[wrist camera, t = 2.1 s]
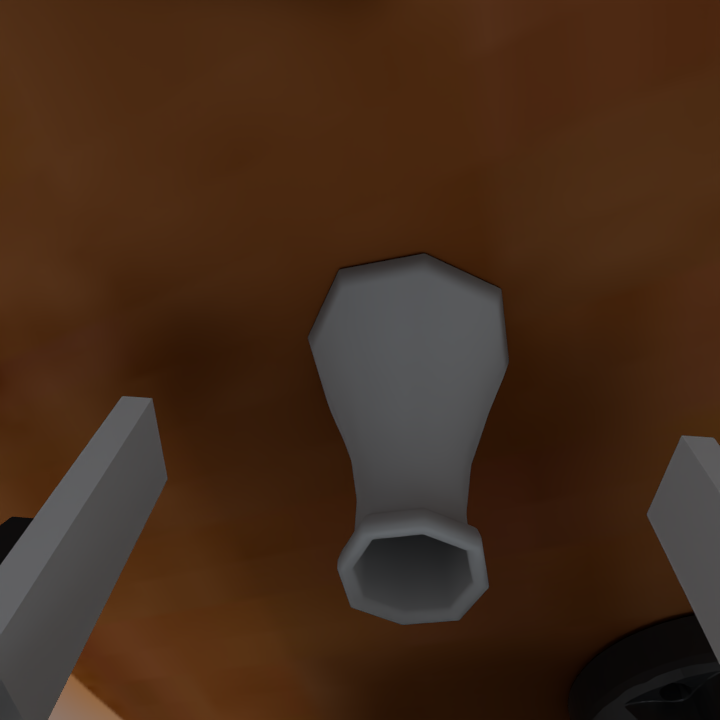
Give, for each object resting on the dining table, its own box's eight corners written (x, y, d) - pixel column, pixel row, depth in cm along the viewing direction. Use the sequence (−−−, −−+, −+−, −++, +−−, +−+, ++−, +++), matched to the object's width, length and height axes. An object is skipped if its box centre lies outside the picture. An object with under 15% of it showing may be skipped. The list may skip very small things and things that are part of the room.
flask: (303, 414, 22) (242, 659, 14) (314, 237, 18) (239, 421, 10) (486, 436, 22) (539, 695, 14) (533, 263, 18) (648, 470, 10)
